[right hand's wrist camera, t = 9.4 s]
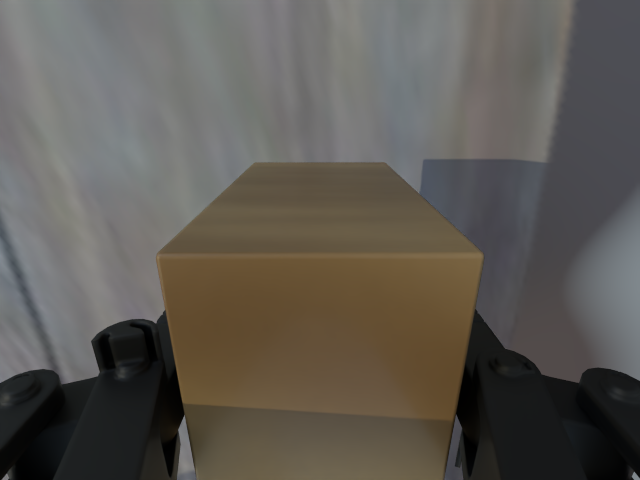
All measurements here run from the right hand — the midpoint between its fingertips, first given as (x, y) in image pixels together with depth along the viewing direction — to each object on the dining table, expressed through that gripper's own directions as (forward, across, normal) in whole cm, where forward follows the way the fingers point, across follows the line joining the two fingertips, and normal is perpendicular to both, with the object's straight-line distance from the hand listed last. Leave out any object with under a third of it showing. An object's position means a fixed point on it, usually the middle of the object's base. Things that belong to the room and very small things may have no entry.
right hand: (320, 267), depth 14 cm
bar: (+1, 0, -30) cm, 30 cm away
